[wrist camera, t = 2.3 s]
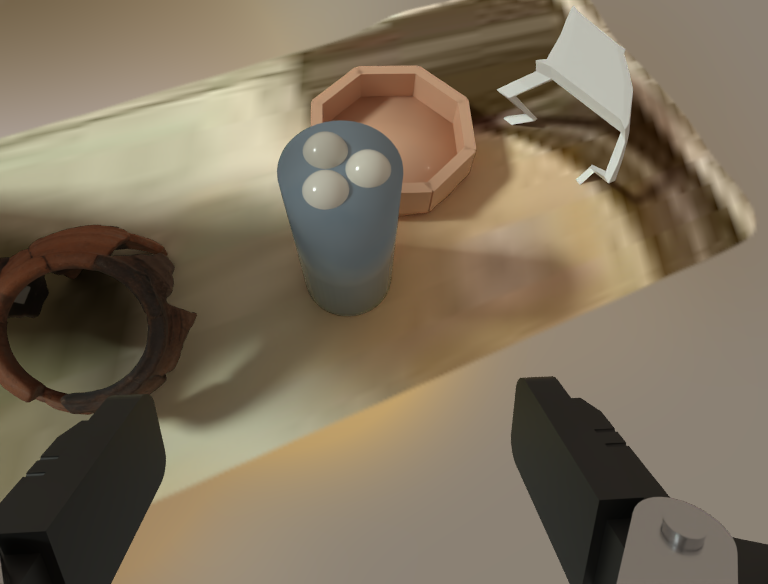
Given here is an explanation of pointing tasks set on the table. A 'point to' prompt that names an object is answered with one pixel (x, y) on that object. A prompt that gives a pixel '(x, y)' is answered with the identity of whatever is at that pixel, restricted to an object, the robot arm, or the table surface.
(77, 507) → the robot arm
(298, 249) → the pebble cup
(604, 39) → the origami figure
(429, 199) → the terracotta bowl
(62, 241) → the pottery mug
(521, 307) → the table surface
